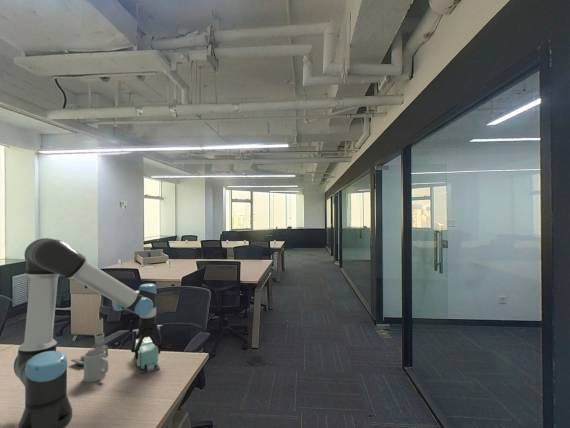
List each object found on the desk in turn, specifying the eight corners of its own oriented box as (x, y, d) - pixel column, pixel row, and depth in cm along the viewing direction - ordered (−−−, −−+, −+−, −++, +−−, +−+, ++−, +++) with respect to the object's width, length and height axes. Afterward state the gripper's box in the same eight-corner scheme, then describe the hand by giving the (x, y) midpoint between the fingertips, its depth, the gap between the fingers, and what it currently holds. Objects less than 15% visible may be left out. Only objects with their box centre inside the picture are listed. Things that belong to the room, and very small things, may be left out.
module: (157, 365, 150) (157, 348, 150) (141, 369, 146) (141, 352, 146) (153, 358, 157) (153, 343, 157) (138, 362, 153) (138, 346, 153)
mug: (79, 380, 138) (79, 355, 138) (96, 371, 146) (96, 348, 146) (98, 385, 134) (99, 359, 134) (115, 375, 142) (115, 351, 142)
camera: (110, 333, 162) (80, 344, 149) (111, 356, 162) (80, 369, 149) (100, 331, 166) (70, 341, 153) (101, 353, 166) (70, 365, 153)
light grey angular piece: (159, 369, 148) (159, 350, 148) (141, 374, 143) (141, 354, 143) (150, 352, 166) (150, 336, 166) (133, 356, 161) (133, 339, 162)
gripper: (167, 310, 160) (167, 354, 160) (123, 317, 149) (123, 365, 149) (171, 314, 154) (171, 360, 154) (125, 322, 143) (125, 371, 143)
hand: (147, 362), depth 151 cm, fingers open, 7 cm apart
